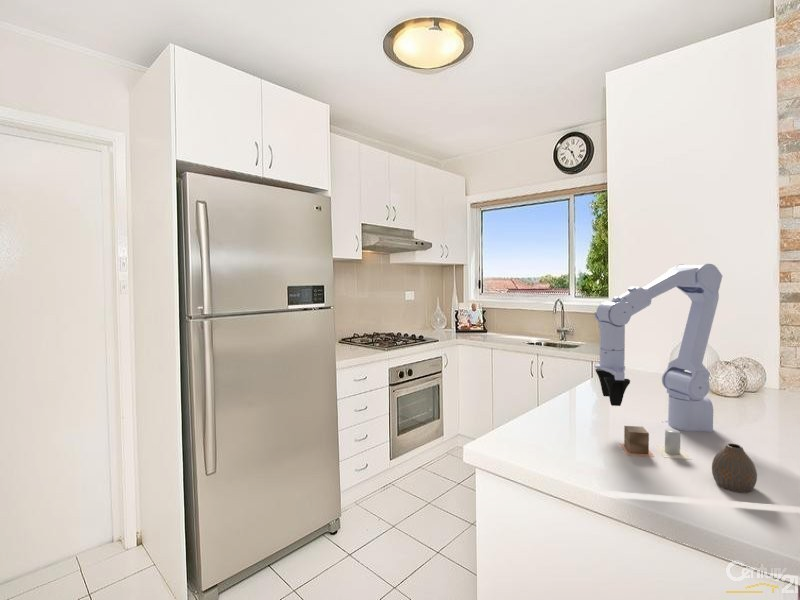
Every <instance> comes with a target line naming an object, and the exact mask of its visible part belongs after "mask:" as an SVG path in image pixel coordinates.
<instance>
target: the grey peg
mask: <svg viewBox="0 0 800 600" xmlns="http://www.w3.org/2000/svg"><path fill="white" fill-rule="evenodd" d="M681 436H682V435H681V430H680V431H679V429H676V428H666V429H664V447H665V452H666V453H668V454H671V455H680V448H681Z"/></svg>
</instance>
